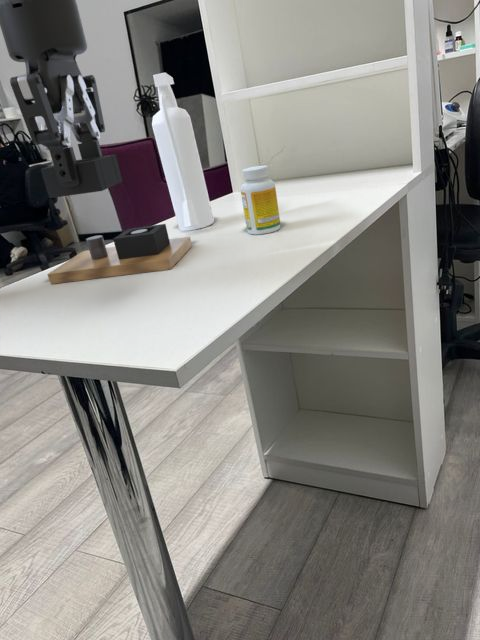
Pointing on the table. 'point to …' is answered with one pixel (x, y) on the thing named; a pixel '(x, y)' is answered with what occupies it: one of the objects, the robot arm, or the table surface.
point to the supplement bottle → (259, 201)
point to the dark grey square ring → (85, 176)
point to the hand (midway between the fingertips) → (84, 180)
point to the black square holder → (142, 242)
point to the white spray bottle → (180, 159)
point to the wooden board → (116, 261)
